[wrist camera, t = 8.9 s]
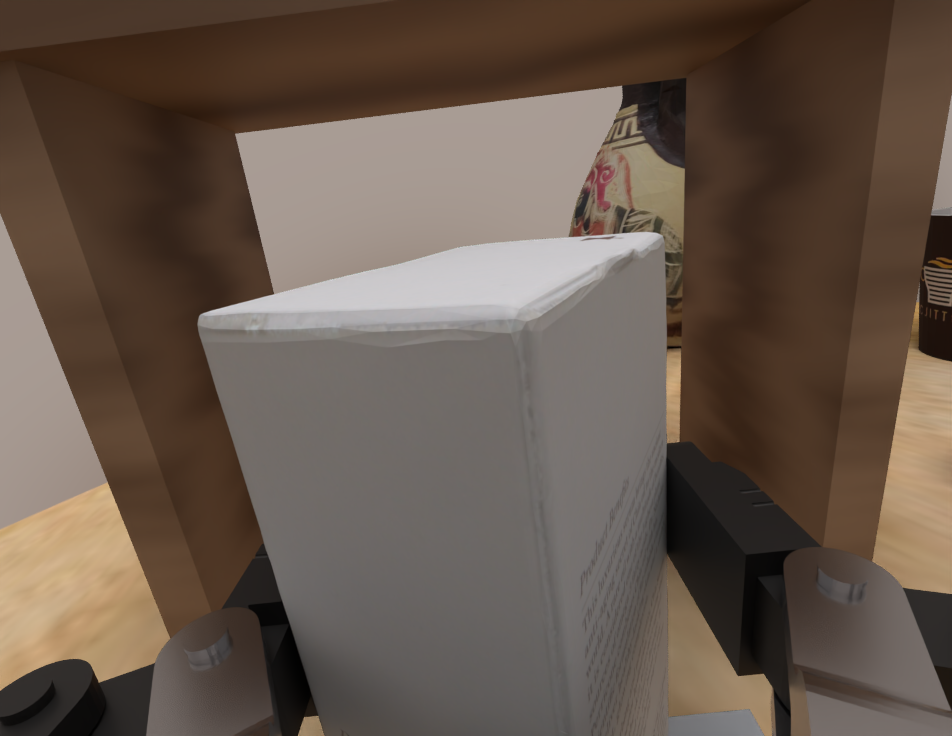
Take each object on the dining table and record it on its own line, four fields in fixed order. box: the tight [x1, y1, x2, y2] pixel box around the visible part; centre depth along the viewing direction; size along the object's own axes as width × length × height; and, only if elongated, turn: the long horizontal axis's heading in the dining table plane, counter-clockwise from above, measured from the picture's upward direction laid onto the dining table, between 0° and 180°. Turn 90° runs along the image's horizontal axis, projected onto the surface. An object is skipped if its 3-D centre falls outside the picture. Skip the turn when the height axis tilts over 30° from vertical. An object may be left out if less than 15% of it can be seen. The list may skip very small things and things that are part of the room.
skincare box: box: [198, 232, 668, 736], centre depth 9 cm, size 6×4×12 cm
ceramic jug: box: [569, 78, 686, 346], centre depth 43 cm, size 17×15×30 cm
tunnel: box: [0, 0, 952, 639], centre depth 17 cm, size 11×21×20 cm, turn 91°
